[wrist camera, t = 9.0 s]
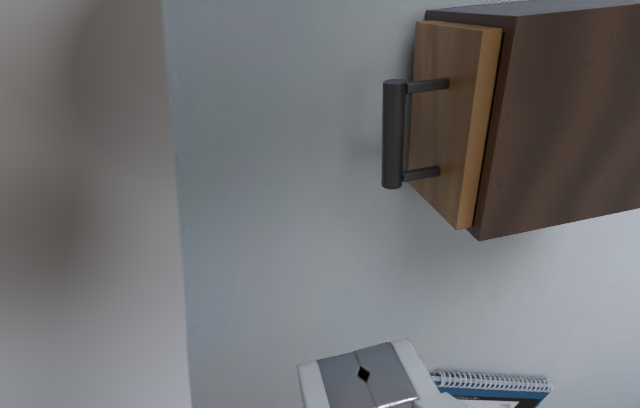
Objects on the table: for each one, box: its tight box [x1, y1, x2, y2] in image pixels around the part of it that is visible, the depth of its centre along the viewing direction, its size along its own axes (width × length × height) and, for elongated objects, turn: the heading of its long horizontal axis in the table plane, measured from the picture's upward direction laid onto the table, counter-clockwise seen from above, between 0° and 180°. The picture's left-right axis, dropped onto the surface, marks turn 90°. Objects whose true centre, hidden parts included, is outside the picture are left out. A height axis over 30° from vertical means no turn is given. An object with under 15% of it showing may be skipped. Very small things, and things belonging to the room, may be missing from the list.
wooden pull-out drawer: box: [382, 20, 505, 230], centre depth 26 cm, size 18×12×8 cm
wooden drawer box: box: [426, 0, 640, 241], centre depth 27 cm, size 15×14×10 cm
